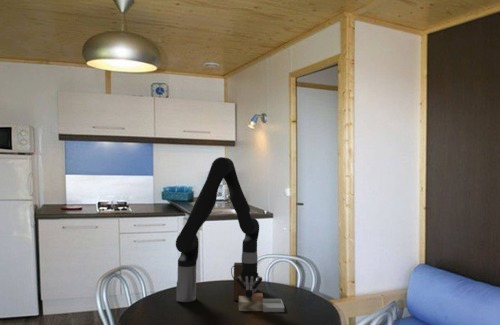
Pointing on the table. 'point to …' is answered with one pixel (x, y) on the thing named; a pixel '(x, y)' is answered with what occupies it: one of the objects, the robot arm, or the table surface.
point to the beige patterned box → (249, 304)
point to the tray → (273, 305)
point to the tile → (257, 297)
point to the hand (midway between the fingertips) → (248, 297)
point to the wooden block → (237, 288)
